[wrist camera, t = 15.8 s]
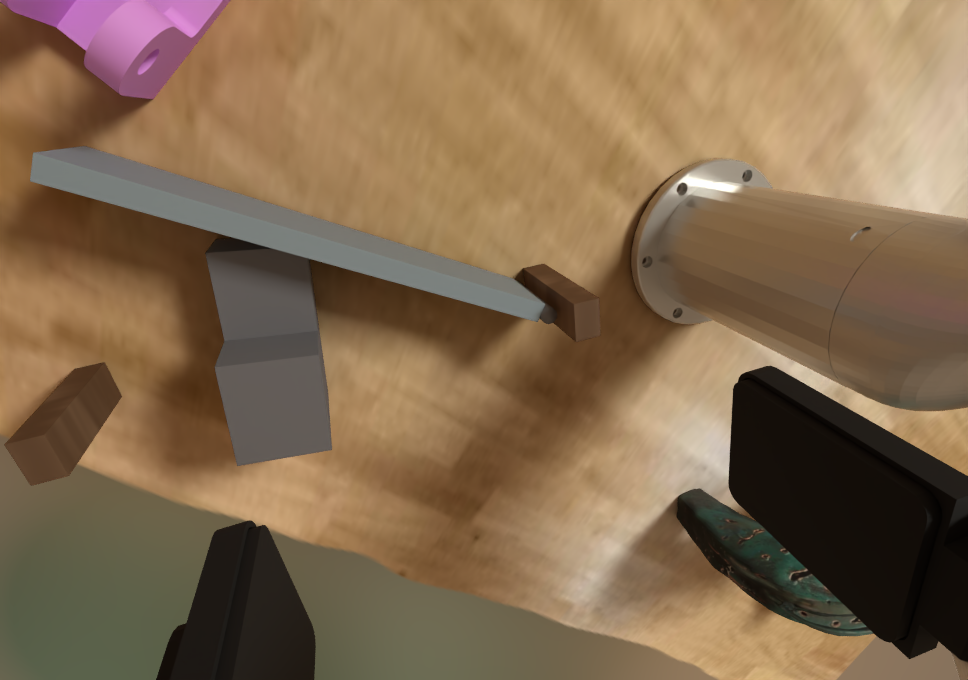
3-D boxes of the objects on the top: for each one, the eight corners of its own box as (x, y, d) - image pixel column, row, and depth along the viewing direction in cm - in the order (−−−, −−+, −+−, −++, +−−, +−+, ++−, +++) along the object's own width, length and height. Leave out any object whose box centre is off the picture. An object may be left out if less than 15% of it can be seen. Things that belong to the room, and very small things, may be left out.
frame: (544, 263, 37) (599, 298, 30) (546, 295, 38) (600, 335, 31) (74, 369, 30) (4, 444, 23) (92, 403, 31) (30, 485, 24)
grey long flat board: (524, 281, 37) (560, 309, 32) (518, 297, 37) (552, 327, 32) (86, 145, 26) (31, 153, 21) (83, 168, 27) (27, 181, 22)
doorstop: (306, 233, 31) (305, 262, 25) (328, 392, 36) (331, 449, 30) (215, 239, 30) (191, 270, 24) (250, 403, 34) (237, 465, 28)
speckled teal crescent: (835, 432, 55) (1085, 582, 37) (824, 481, 57) (1052, 642, 40) (671, 484, 50) (868, 683, 32) (667, 534, 53) (847, 742, 35)
